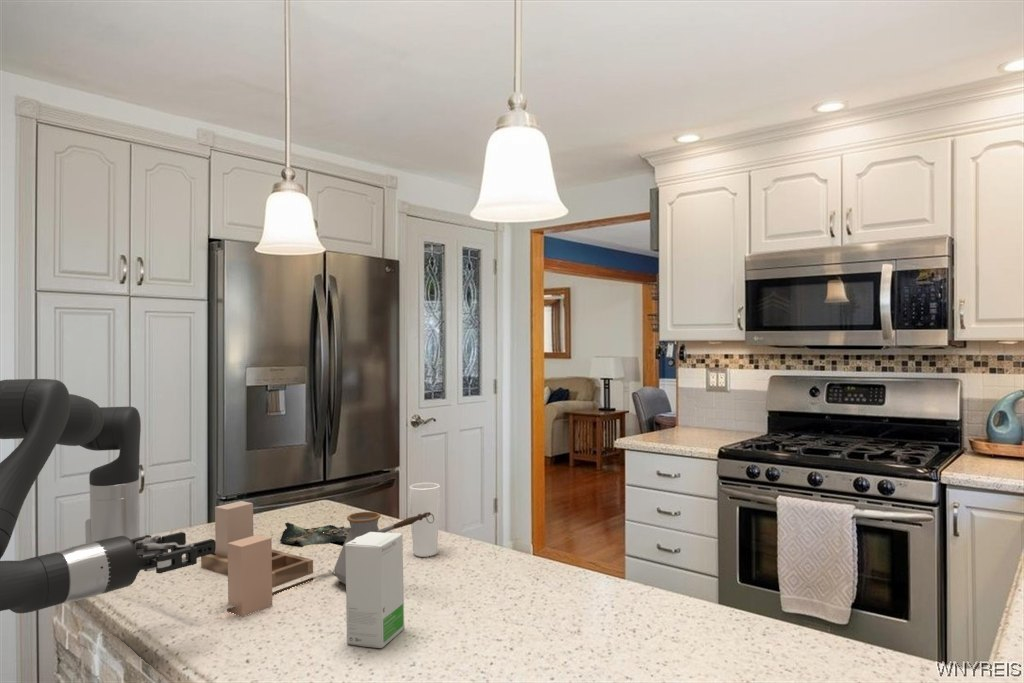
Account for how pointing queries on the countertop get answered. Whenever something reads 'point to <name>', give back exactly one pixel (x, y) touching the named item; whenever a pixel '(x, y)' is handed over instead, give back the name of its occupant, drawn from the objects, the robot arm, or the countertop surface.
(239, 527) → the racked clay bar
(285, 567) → the wooden divided tray
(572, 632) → the countertop surface
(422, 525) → the drinking glass
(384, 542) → the skincare box
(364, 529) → the coffee pot
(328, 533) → the decorative rock
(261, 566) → the clay bar
